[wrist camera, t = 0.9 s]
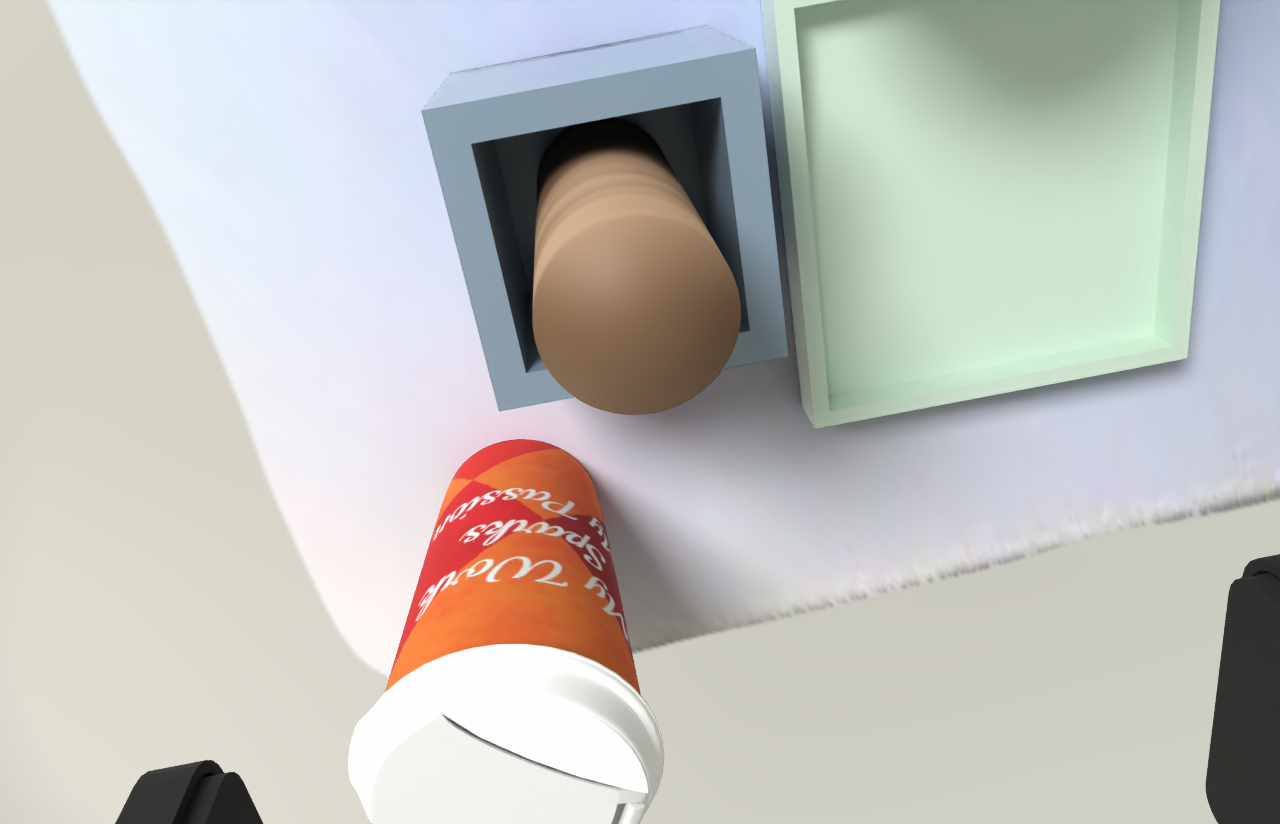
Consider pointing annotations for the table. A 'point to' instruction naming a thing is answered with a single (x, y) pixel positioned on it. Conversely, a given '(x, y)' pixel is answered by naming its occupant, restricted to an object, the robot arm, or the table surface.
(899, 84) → the tray
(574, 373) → the peg
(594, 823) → the coffee cup
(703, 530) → the table surface
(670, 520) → the table surface
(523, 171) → the deep square box
